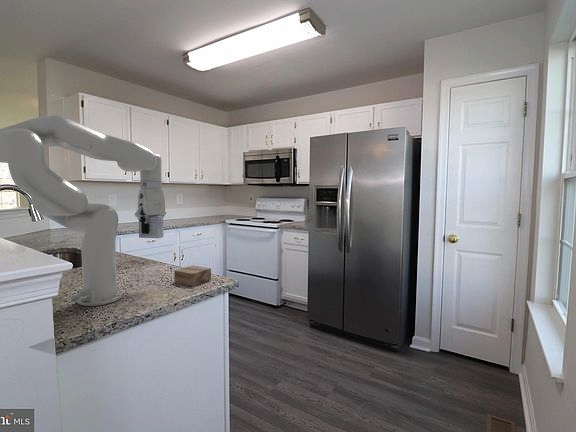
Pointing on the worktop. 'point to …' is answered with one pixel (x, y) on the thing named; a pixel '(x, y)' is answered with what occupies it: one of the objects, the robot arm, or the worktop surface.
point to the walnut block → (192, 275)
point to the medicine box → (153, 227)
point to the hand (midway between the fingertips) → (151, 232)
